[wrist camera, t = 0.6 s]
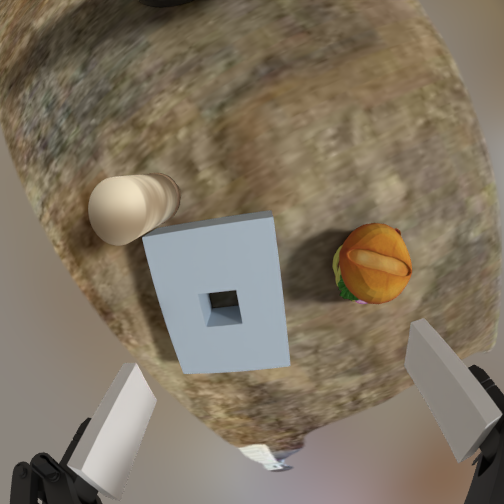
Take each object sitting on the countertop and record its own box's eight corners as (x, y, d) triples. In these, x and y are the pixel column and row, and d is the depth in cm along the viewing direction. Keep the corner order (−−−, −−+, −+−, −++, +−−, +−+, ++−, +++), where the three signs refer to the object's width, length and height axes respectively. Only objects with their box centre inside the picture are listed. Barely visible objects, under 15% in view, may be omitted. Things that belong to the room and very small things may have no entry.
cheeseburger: (338, 309, 37) (354, 333, 27) (316, 238, 37) (327, 239, 27) (400, 285, 36) (431, 300, 26) (381, 215, 35) (410, 210, 26)
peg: (144, 177, 32) (82, 185, 19) (186, 168, 32) (139, 167, 19) (152, 220, 34) (96, 251, 21) (193, 213, 34) (153, 241, 20)
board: (156, 228, 34) (141, 237, 30) (271, 210, 33) (273, 216, 29) (190, 353, 40) (183, 373, 35) (287, 344, 39) (290, 365, 34)
